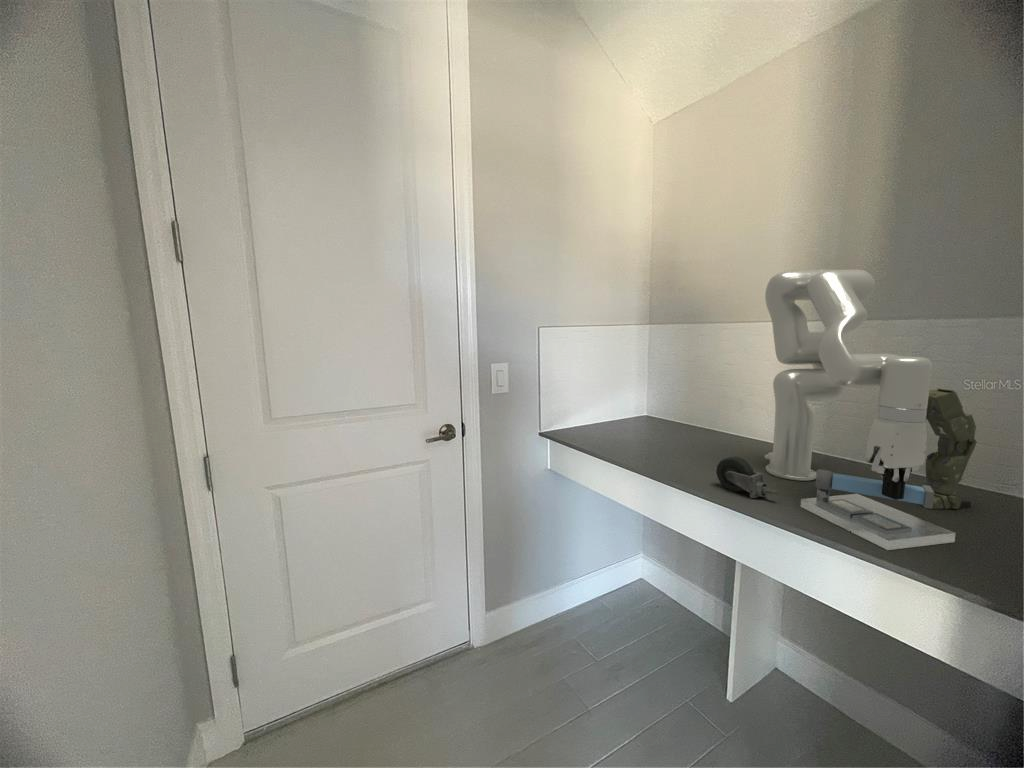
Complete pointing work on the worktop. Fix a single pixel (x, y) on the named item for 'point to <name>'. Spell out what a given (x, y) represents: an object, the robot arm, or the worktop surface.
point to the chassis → (876, 521)
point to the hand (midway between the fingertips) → (892, 496)
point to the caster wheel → (742, 477)
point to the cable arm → (872, 487)
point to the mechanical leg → (948, 447)
